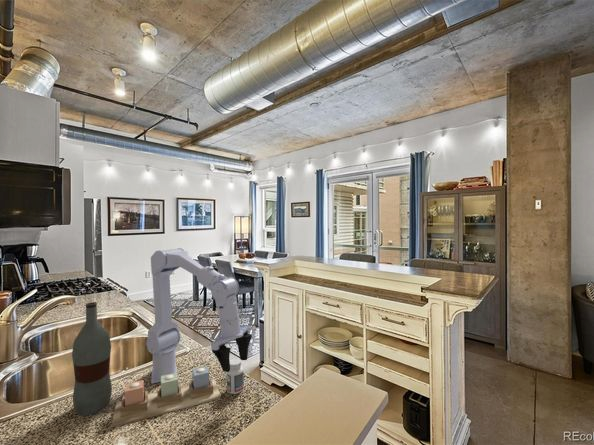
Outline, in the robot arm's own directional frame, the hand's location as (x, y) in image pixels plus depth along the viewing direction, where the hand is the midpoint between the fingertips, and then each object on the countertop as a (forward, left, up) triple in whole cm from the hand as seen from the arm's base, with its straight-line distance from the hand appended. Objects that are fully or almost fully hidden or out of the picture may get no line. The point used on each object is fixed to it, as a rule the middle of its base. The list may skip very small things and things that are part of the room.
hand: (235, 365), depth 86 cm
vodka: (-16, -38, -11) cm, 42 cm away
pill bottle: (-6, +1, -11) cm, 12 cm away
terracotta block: (-9, -27, -8) cm, 29 cm away
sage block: (-9, -18, -8) cm, 21 cm away
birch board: (-9, -18, -11) cm, 22 cm away
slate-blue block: (-9, -9, -8) cm, 15 cm away
